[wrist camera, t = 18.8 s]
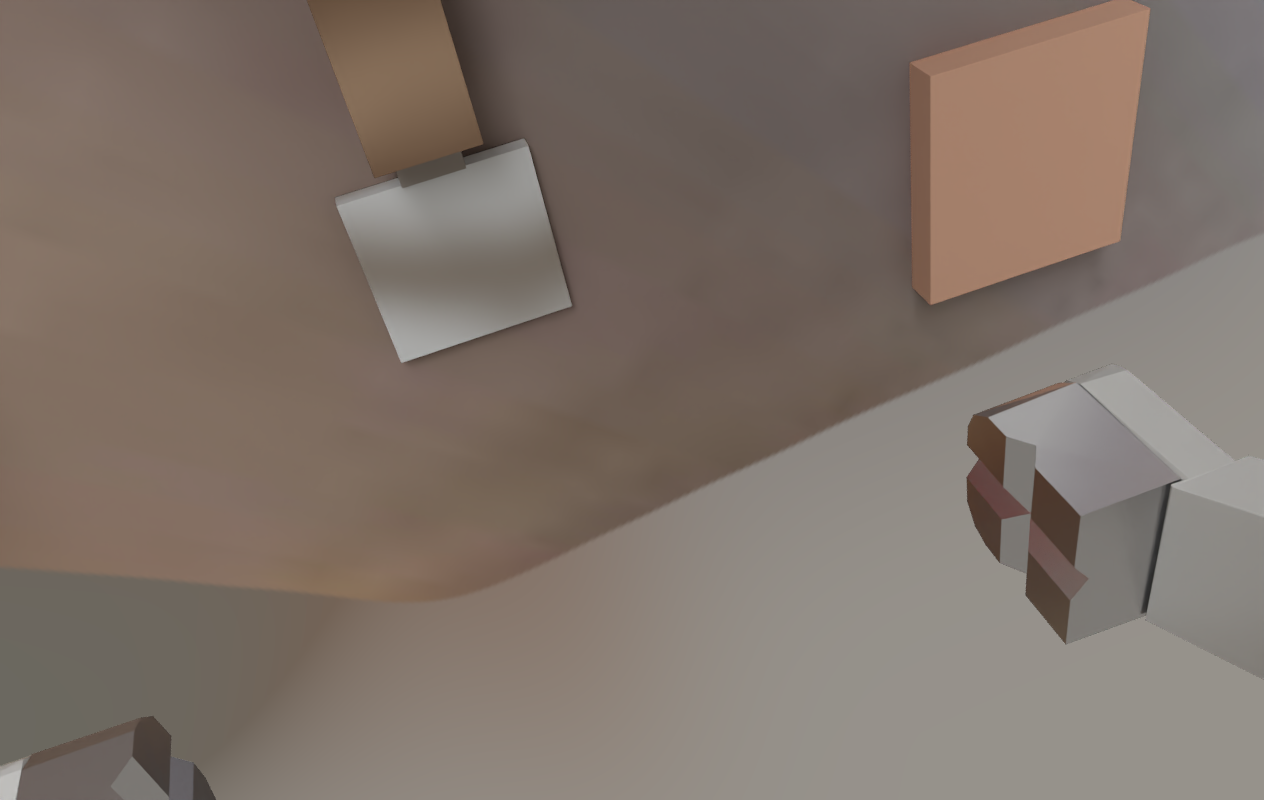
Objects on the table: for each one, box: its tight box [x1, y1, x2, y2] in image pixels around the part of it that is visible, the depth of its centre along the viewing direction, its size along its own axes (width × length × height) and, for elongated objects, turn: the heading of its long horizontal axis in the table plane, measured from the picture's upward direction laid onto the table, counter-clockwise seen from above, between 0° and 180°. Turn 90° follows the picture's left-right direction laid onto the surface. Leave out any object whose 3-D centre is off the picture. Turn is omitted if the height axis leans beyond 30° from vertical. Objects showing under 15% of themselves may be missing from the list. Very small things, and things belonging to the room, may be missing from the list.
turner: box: [307, 0, 572, 363], centre depth 29 cm, size 19×6×4 cm, turn 12°
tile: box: [910, 0, 1150, 305], centre depth 38 cm, size 8×2×9 cm
